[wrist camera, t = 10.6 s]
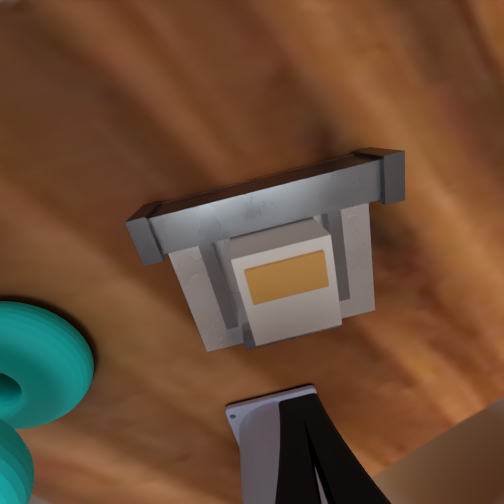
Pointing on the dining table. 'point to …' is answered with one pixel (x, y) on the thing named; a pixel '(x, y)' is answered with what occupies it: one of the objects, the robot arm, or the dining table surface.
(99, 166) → the dining table surface
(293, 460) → the robot arm
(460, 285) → the dining table surface
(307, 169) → the rail
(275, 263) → the block
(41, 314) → the donuts
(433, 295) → the dining table surface
